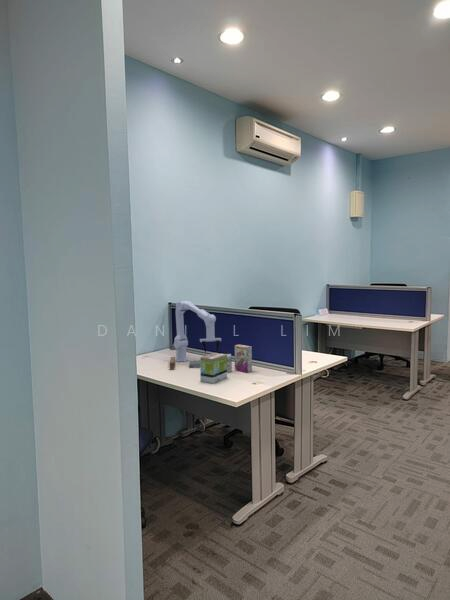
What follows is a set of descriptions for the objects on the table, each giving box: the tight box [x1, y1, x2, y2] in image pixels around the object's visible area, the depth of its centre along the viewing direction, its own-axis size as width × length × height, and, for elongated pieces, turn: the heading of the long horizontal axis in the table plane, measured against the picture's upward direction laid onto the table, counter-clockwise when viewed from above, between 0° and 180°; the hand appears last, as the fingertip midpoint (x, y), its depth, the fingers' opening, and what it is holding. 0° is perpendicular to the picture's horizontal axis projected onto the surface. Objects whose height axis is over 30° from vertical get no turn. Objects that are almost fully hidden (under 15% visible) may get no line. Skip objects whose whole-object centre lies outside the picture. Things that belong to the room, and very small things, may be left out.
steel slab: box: [188, 360, 200, 369], centre depth 268 cm, size 10×10×3 cm
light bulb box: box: [226, 353, 233, 373], centre depth 253 cm, size 11×7×11 cm, turn 84°
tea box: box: [199, 352, 228, 384], centre depth 235 cm, size 15×10×15 cm, turn 148°
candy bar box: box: [234, 344, 253, 374], centre depth 253 cm, size 11×5×16 cm, turn 47°
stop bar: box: [169, 356, 176, 371], centre depth 267 cm, size 16×3×5 cm, turn 5°
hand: (211, 352), depth 268 cm, fingers open, 7 cm apart
